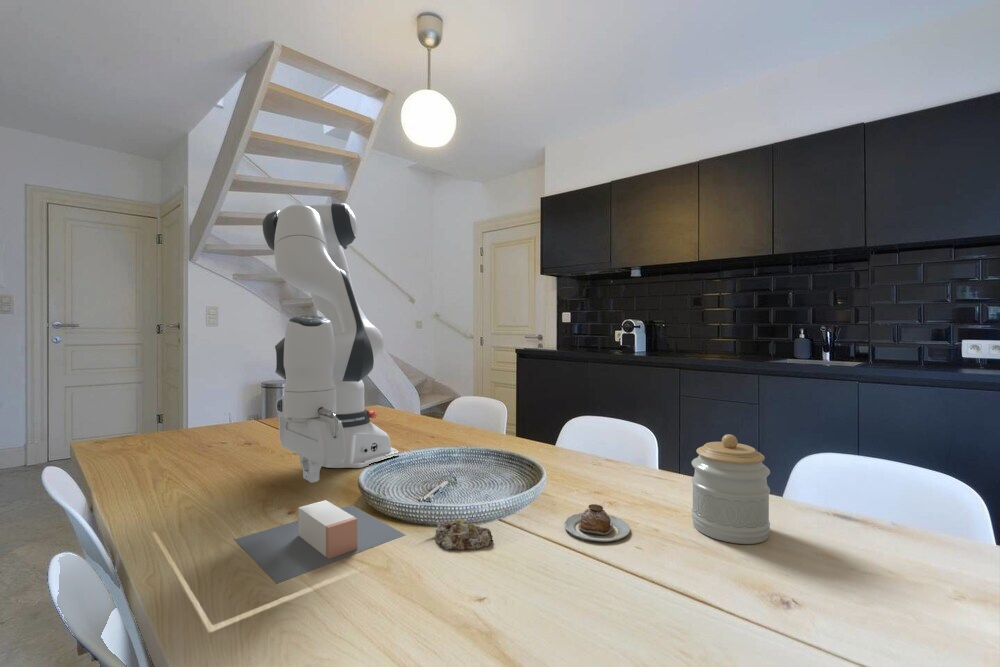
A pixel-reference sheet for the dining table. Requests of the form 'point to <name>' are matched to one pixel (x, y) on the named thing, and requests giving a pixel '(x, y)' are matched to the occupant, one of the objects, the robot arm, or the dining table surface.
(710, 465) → the jar
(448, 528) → the mineral rock
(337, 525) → the cream block
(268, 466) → the dining table surface
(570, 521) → the pastry
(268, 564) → the rubber mat
